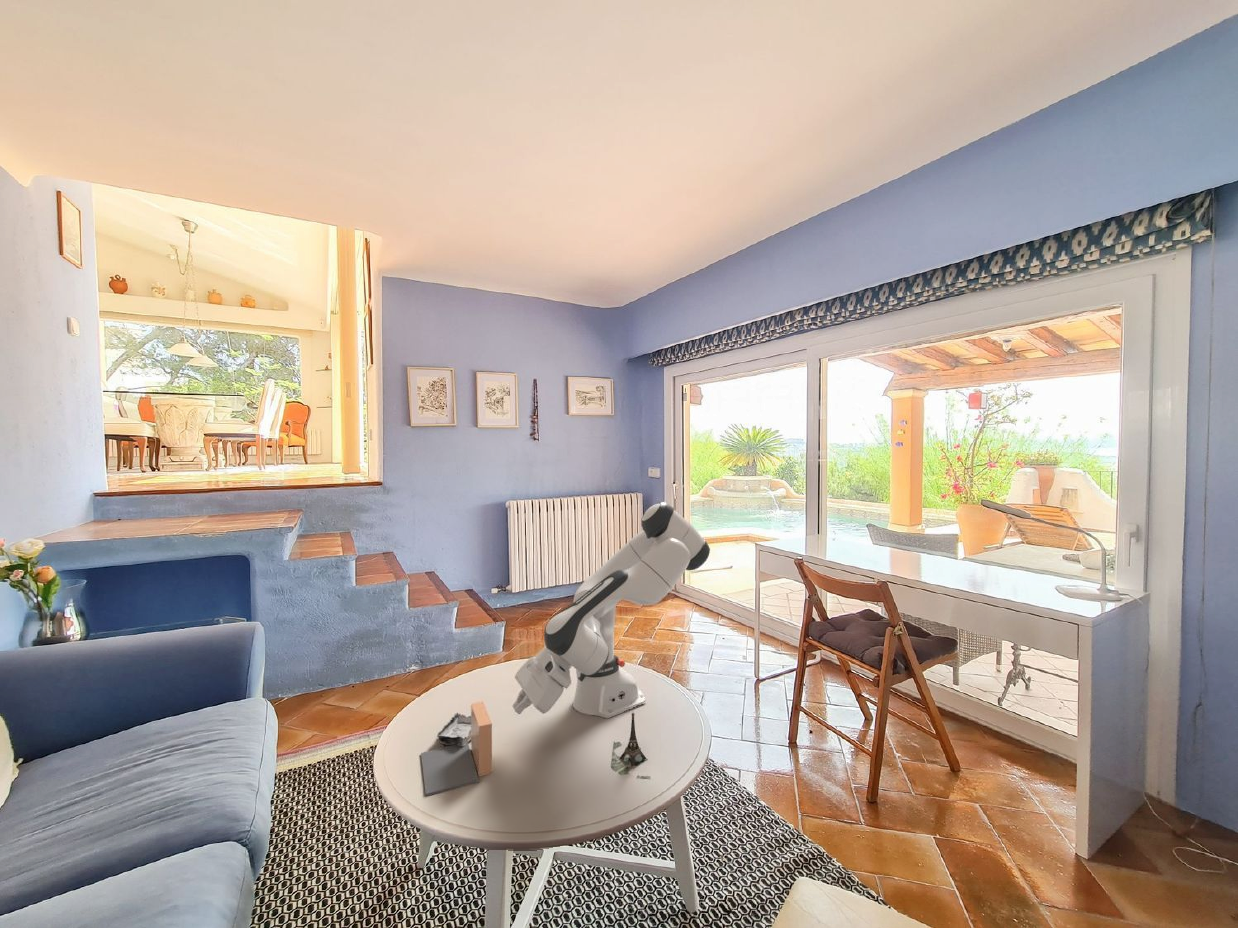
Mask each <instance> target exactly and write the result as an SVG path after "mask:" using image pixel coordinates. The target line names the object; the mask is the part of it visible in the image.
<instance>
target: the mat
mask: <svg viewBox="0 0 1238 928" xmlns="http://www.w3.org/2000/svg"><path fill="white" fill-rule="evenodd" d="M420 756H421V757H420V758H421V765H422V775H423V783H424V793H425V797H428V795H429V796H432V795H435V794H439V793H442V792H447V791H450V790H453V789H457V788H461V787H464V786H469V785H471V784H475V783H479V775H478V772H477V768H476V765H475V761H474V758H473V754H472V751H471V747H470V745H469V742H468V743H466V745H465V746H463V747H462V746H458V745H447V746H444V747H440V748H437V749H436V748H435V749H432V750H427V751H423V752H421V753H420Z"/></svg>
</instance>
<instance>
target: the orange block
mask: <svg viewBox="0 0 1238 928" xmlns="http://www.w3.org/2000/svg"><path fill="white" fill-rule="evenodd" d="M470 708H471V709H470V716H471V740H470V742H471V743H470V744H471V745H470V751H471V754H472V758H473V761H474V765H475V768H476V772H477V775H478V777H481V776H485V775H490V774H492V773H493V737H492V735H493V732H492V731H493V723H492V721H491V718H490V715H489V713H488V710H487V708H486V705H485V703H484V701H479V702H472V703H471V704H470Z"/></svg>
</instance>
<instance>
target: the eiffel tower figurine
mask: <svg viewBox="0 0 1238 928" xmlns="http://www.w3.org/2000/svg"><path fill="white" fill-rule="evenodd" d="M635 725H636V724H635V713H634V712H632V713H631V727H630V735H629V736H630V737H629V738H628V743H627V746H626V747H625V750H624V751H623V752H622V754H621V755H620V756H619V755H617V753H615V750H617V749H618V748H619V747H622V746H623V744H622V743H621V742H620V741H613V745H612V751H611V762H610V768H611V770H612V771H613V772H615V773H616V774H618V775H620V776H626V775H630V768H631V769H635V768H638V767H639V766H640V765H643V764H644V763H645V762H648V760H649V759H648V758H647V757H646V756H645V754H644V753H643V751H642V749H641V747H640V746H639V743H638V739H637V736H636V726H635ZM636 779H651V775H645V776H644V775H641V776H640V775H639V774H638V775H637V776H636Z"/></svg>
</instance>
